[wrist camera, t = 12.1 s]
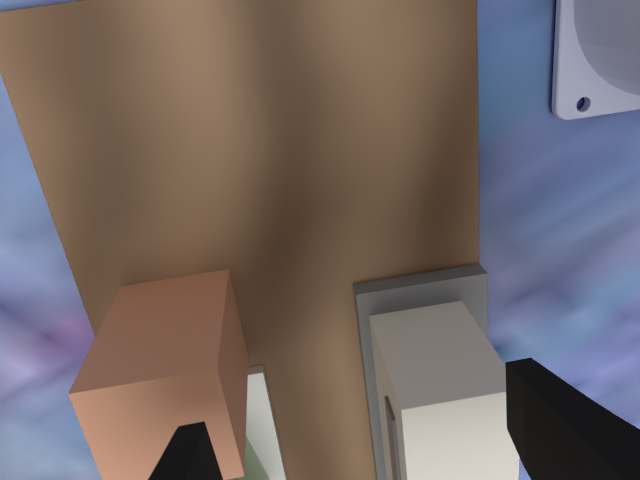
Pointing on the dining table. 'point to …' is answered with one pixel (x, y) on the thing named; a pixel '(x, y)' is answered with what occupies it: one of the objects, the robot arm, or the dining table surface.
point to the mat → (263, 425)
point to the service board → (258, 170)
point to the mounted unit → (433, 378)
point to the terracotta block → (165, 375)
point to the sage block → (252, 465)
